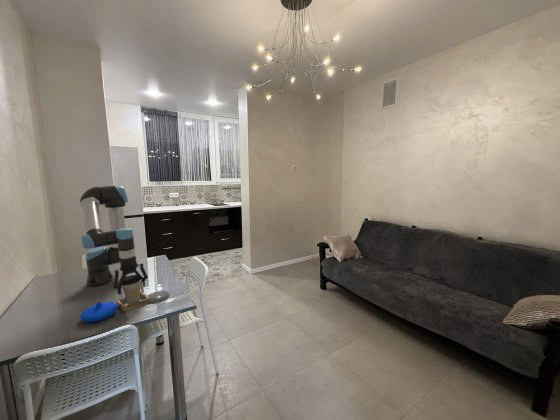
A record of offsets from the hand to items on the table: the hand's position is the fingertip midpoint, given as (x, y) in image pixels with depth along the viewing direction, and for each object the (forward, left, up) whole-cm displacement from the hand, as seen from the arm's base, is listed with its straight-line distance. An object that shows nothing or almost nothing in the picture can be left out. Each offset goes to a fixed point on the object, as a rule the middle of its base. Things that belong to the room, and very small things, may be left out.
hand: (132, 295), depth 138 cm
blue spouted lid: (0, -16, -5) cm, 16 cm away
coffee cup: (0, 0, -5) cm, 5 cm away
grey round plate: (+4, +11, -5) cm, 13 cm away
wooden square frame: (0, 0, -5) cm, 5 cm away
